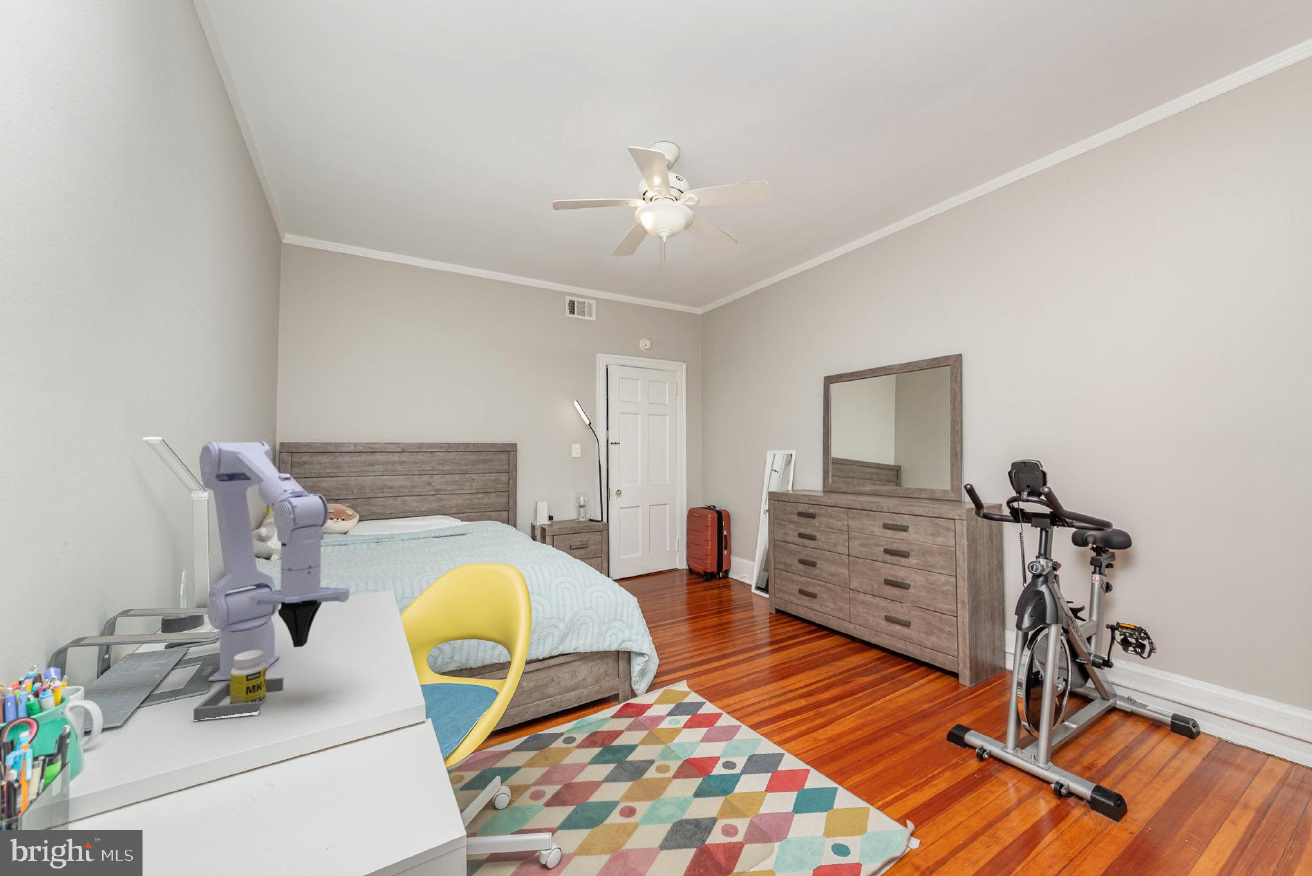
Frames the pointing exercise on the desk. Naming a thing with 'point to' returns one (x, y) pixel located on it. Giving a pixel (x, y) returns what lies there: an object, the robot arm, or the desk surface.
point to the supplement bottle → (248, 678)
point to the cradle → (213, 710)
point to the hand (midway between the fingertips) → (300, 644)
